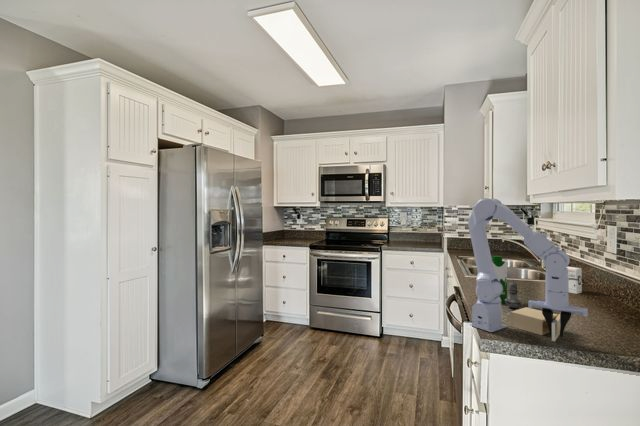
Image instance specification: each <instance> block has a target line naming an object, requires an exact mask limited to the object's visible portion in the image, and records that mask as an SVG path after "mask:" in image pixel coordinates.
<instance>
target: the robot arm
mask: <svg viewBox="0 0 640 426" xmlns="http://www.w3.org/2000/svg"><path fill="white" fill-rule="evenodd" d="M493 219H496V220H499V221H503V222H505V223H506V224H508V225H509V227H511V229H513V230H514V231H515V232H517V233H518V234H519V235H520V236H521V237H522V238H523V244H524V245H525V246H526V247H527V248H528V249H529V250H530V251H531V252H532V253H534V255H536V256H537V258H539V259H540V260H542V262H543V265H544V267H545V275H544V276H545V281H544V284H545V285H544V286H545V293H544V294H545V301H542V300H532V299H529V300H528V303H527V304H528V305H527V306H528V308H532V309H538V310H541V311H542V314H543V316H544V318H545V320H546V322H547V324H548V327H549V331H550V332H549V335H550V336H552V322H553V314H554V312H558V313H559V314H560V334H559V337H560V338H563V337H564V333H565V332H564V331H565V329H566V326H567V324H568V323H569V321H570V319H571V318H572V315H577V316H582V317H586V318H587V317H588V315H589V314H588V313H589V312H588V310H589V309H588V308H587V307H586V308H584V307H579V306H575V305H571V304H569V303H570V301H569V297H570V296H569V293H570V292H569V277H568V268H566V267H569V264H570V262H571V261H570V260H571V259H570V257H569V255H568V254H567V252H566V251H564V250H561V247H560V246H558V245H557V246H556V245H555V244H554V242H552V241H550V240H549V239H548V235H547V234H546V233H545V232H544V233H542V232H541V231H533V230H532V229H531V228H530V227H529V226H528V225H527V224H526V223H525V222H524V221H523V220H522V219H521V218H520V217H519V216H518V215H517V214H516V213H515V212H514V211H513V210H512V209H511V208H509V207H508V206H507V205H506V204H504V203H502V202H501V200H499V199H497V198H488V197H483V198H480V199H479V200H477V201H476V203H475V204H474V205H472V211H471V214H470V217H469V220H468V222H467V226H468V230H469V237H470V242H471V245H472V250H473V255H474V260H475V265H476V266H475V267H476V270H477V271H476V272H477V275H476V286H475V295H476V297H477V301H476V303H474V304H473V305H472V308H471V323H469V326H471V327H473V328H477V329H481V330H483V331H487V332H489V333H493V332H497V331H499V330H502V329H505V328H507V327H508V325H506V324H503V323H502V303H501V299H500V295H501V294H502V292H503V286H502V284H501V283H500V282H499V280H498V276H497V274H496V273H495V272H494V268H493V263H492V254H491V249H490V244H489V239H488V235H487V231H486V226H487V225H488V224H489V223H490V222H491V220H493Z"/></svg>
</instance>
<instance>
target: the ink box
mask: <svg viewBox="0 0 640 426" xmlns="http://www.w3.org/2000/svg"><path fill="white" fill-rule="evenodd" d="M566 268H568V277H569V293H570V294H581V293H582V289H583V288H582V284H583V283H582V278H583V277H582V275H583V273H582V271H583V270H582V268H581V267H573V266H567V267H566Z"/></svg>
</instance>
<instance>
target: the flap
mask: <svg viewBox="0 0 640 426" xmlns="http://www.w3.org/2000/svg"><path fill="white" fill-rule="evenodd" d="M560 314H561V313H559V314H557V315H558V316H557V318H556V319H554V320H553V322H552V335H551V342H556V341H557V339H558V338H559V337H560Z"/></svg>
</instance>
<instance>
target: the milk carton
mask: <svg viewBox="0 0 640 426" xmlns="http://www.w3.org/2000/svg"><path fill="white" fill-rule="evenodd" d="M491 258H492V263H493V268H494V272H495V273H496V274H497V276H498V280H499V282H500V283H501V284H502V286H503V292H502V294H501V295H500V299H501V304H506V302H505V299H507V298H508V265H509V264H508V261H507V260H504V259H503V256H502V255H491Z"/></svg>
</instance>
